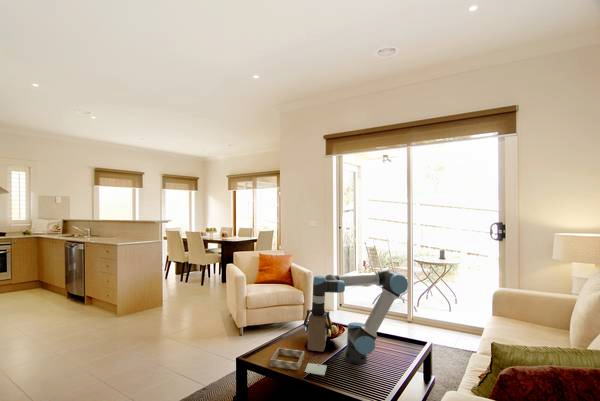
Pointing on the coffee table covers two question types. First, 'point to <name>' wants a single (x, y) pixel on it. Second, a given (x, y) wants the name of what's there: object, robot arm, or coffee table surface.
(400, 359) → the coffee table surface
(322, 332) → the wooden block
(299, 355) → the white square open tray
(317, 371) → the pad
